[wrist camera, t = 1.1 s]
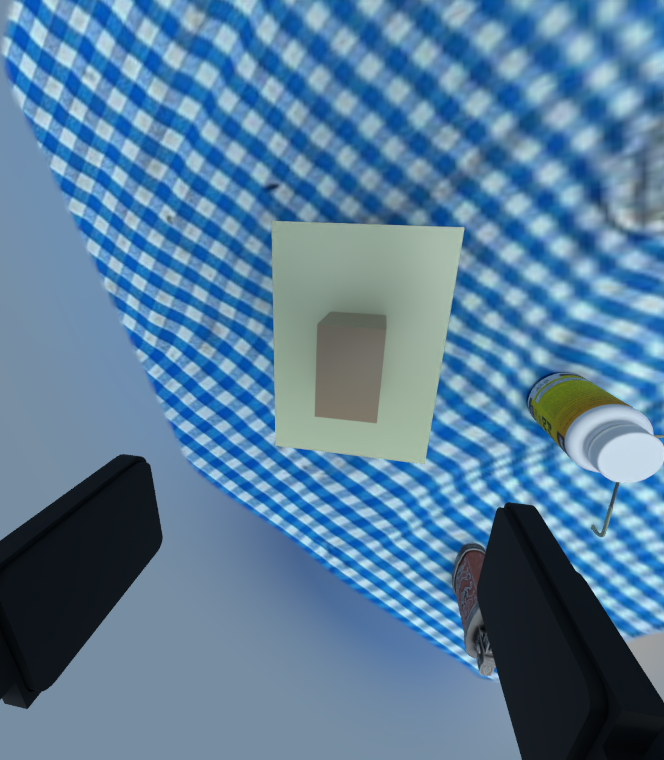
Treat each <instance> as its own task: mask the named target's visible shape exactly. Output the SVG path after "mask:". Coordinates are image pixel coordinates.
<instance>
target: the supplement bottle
mask: <svg viewBox="0 0 664 760" xmlns="http://www.w3.org/2000/svg"><path fill="white" fill-rule="evenodd" d="M528 408H529V411H530V413H531V415H532V417H533V418H534V419H535V420H536V421H537V423H538V424H539V425H540V426H541V427H542V428H543V429H544V430H545V431H546V432H547V433H548V434H549V435H550V437H551V438H552V439H553V440H554V441H555V442H556V443H557V444H558V445H559V446H560V447H561V449H562V450H563V451H564V452H565V453H566V454H567V455H568V456H569V457H570V458H571V459H572V460H573V461H574V462H575V463H576V464H577V465H579V466H581V467H582V468H584V469H587V470H590V471H594V472H600V473H601V474H602V475H603V476H605V477H606V478H608V479H610V480H612V481H615V482H620V483H633V482H637V481H641V480H643V479H646V478H648V477H650V476H651V475H653V474H654V473H655V472H656V471H657V470H658V469H659V468H660V467H661V465H662V464H663V462H664V446H663V444H662V443H661V441H660V440H659V439H658V438H656V437H655V436H653V429H652V426H651V423H650V422H649V420H648V419H647V418H646V417H645V416H644V415H643V414H642V413H641V412H639V411H638V410H636V409H634V408H633V407H631V406H629V405H628V404H626V403H624V402H623V401H621V400H619V399H618V398H616V397H614V396H613V395H611V394H609V393H608V392H606V391H604V390H603V389H601V388H600V387H598V386H596V385H595V384H593V383H591V382H590V381H588V380H586V379H585V378H583V377H581V376H579V375H576V374H572V373H557V374H553V375H550V376H548V377H546V378H544V379H542V380H541V381H540V382H538V383H537V384H536V385H535V386H534V388H533V389H532V391H531V393H530V395H529V398H528Z"/></svg>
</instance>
